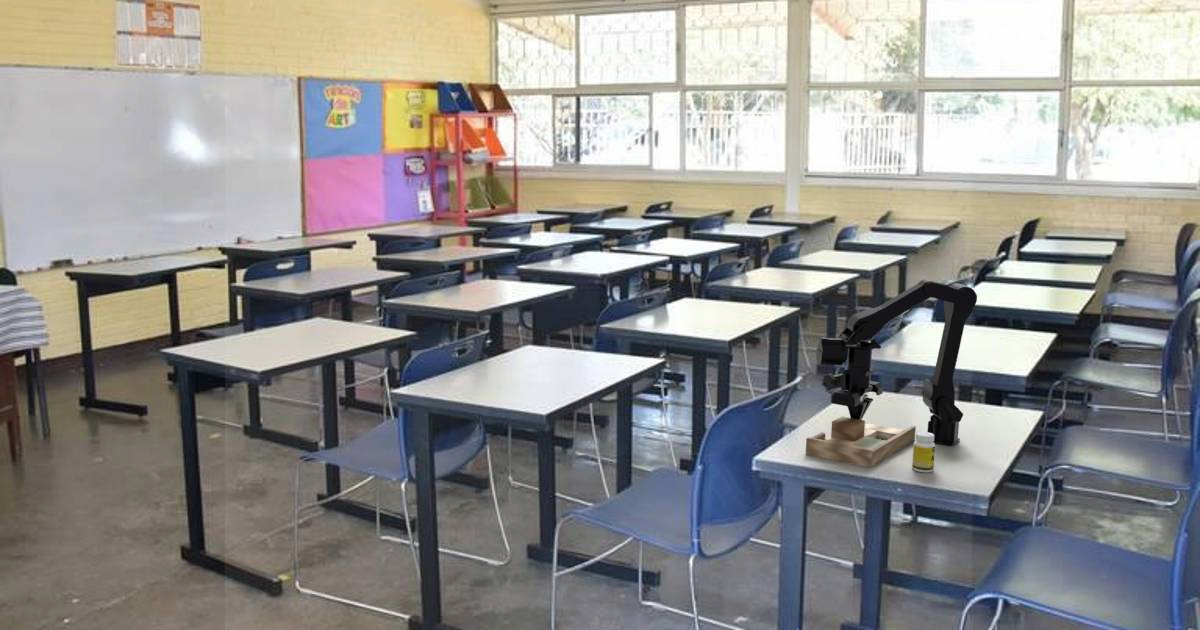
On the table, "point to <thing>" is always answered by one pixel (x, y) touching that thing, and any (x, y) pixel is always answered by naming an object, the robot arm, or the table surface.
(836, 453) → the box
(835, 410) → the table surface
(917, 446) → the supplement bottle
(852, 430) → the block
